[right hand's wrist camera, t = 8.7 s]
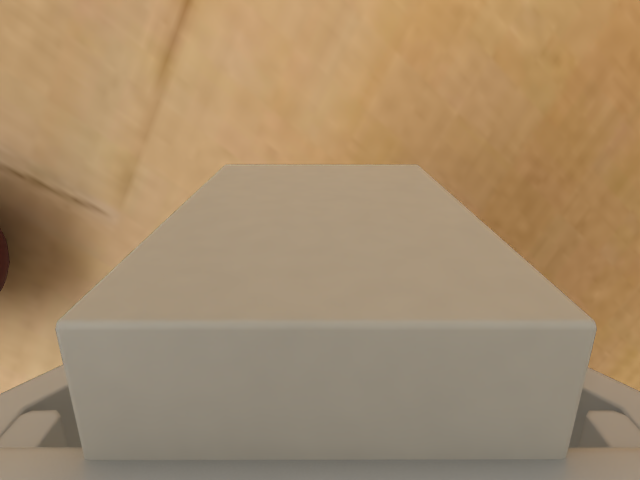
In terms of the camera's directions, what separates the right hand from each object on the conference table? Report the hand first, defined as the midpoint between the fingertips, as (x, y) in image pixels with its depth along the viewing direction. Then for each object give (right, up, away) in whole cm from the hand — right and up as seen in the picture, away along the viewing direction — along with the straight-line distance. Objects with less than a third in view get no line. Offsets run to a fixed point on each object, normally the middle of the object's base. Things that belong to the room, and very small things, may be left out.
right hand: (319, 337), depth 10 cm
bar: (0, -9, +6) cm, 11 cm away
